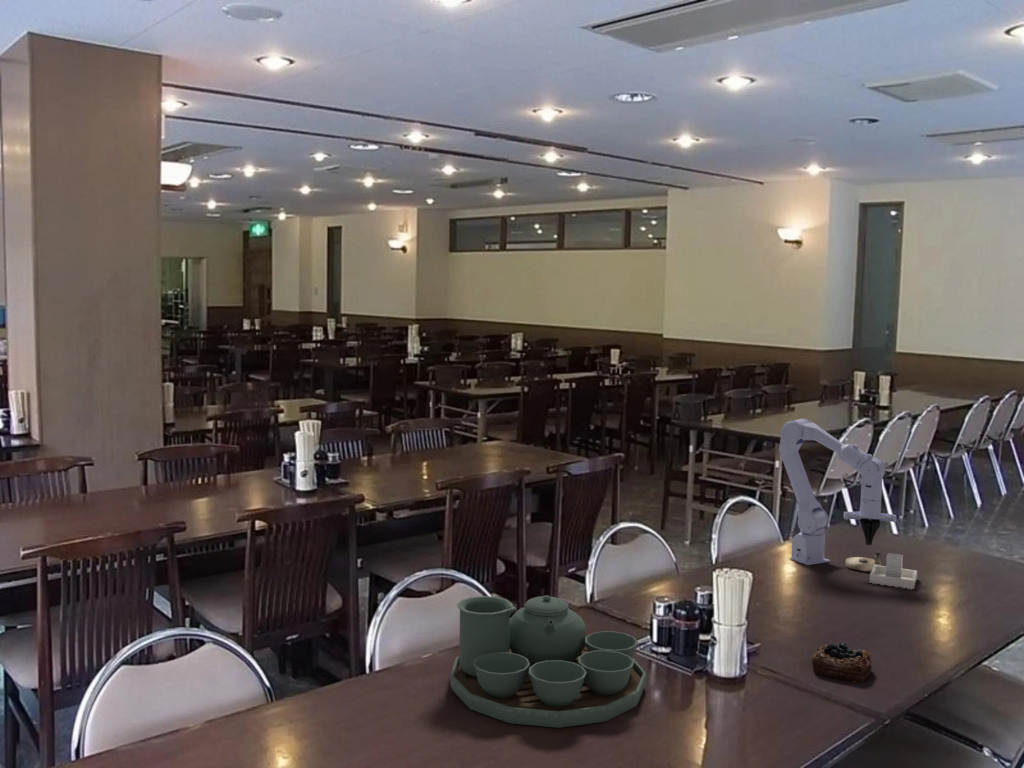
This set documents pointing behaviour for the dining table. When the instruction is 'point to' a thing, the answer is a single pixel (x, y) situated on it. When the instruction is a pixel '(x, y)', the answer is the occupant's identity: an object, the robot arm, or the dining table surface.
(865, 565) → the crank
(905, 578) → the tray
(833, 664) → the pastry
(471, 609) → the tea set
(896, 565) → the block
